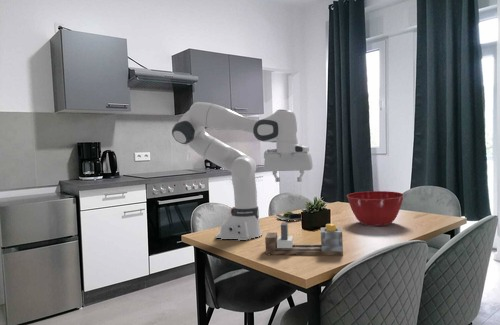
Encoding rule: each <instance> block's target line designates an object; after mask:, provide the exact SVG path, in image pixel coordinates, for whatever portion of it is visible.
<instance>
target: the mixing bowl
mask: <svg viewBox="0 0 500 325" xmlns="http://www.w3.org/2000/svg"><path fill="white" fill-rule="evenodd" d="M346 197H347V200H348V204H349V207H350V209H351V212H352V213H353V214H354V216H355V218H356V220H357V221H358V222H360V223H361V224H363V225H365V226H368V227H386V226H389V225H390V224H392V223H393V222H394V221H395V219H396V218H397V217H398V214H399V212H400V210H401V206H402V203H403V199H404V197H405V194H404V193H401V192H398V191H397V192H396V191H390V190H389V191H388V190H387V191H386V190H382V191H381V190H377V191H376V190H373V191H372V190H371V191H370V190H369V191H359V192H358V191H356V192H353V193H348V194H346Z"/></svg>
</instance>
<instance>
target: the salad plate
mask: <svg viewBox="0 0 500 325" xmlns="http://www.w3.org/2000/svg"><path fill="white" fill-rule="evenodd" d="M301 213H302V212H301ZM301 213H300V212H298V213H294V212H292V211H286V212H282V215H283V216H282V215H281V214H276V218H277V220H279V219H284V220H289V221H288V222H290V221H294V220H301Z"/></svg>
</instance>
